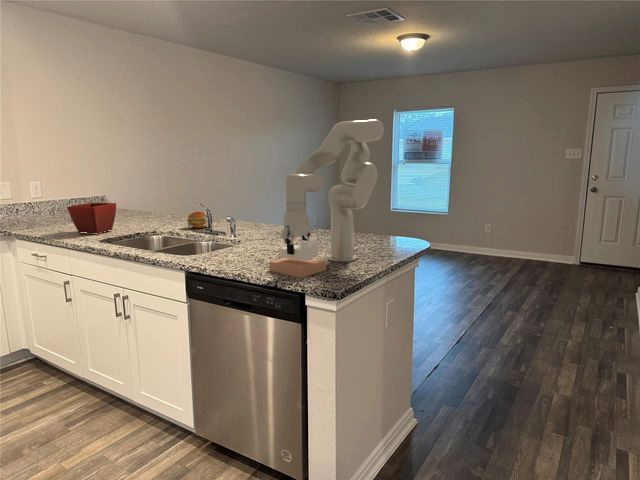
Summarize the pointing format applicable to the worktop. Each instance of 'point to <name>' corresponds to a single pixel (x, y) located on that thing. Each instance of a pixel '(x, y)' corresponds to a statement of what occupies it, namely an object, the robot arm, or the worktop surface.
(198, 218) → the burger
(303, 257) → the bracket
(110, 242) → the worktop surface
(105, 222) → the plant pot
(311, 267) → the riser block
